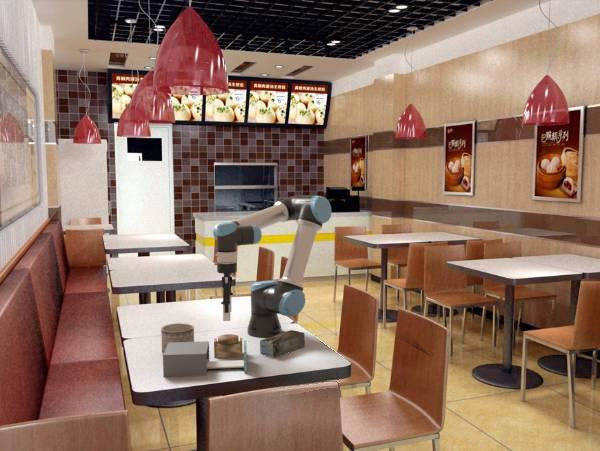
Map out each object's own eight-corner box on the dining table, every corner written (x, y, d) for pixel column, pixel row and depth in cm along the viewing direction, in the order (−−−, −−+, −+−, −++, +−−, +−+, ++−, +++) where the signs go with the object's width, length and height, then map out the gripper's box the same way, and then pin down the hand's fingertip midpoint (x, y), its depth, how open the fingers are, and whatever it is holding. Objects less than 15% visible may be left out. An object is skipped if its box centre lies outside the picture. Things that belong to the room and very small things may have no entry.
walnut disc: (238, 339, 226) (238, 333, 226) (238, 345, 218) (238, 339, 218) (218, 339, 225) (218, 334, 225) (217, 346, 217) (217, 340, 217)
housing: (209, 361, 215) (208, 341, 214) (206, 375, 200) (206, 353, 200) (169, 362, 214) (168, 342, 213) (163, 376, 199) (162, 355, 198)
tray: (246, 359, 216) (246, 340, 215) (246, 372, 202) (246, 352, 201) (207, 360, 215) (207, 341, 214) (204, 373, 201) (204, 353, 200)
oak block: (242, 352, 225) (242, 337, 224) (242, 356, 220) (242, 341, 220) (214, 353, 224) (214, 338, 223) (214, 357, 219) (213, 341, 219)
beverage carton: (258, 354, 223) (258, 338, 223) (291, 343, 238) (291, 328, 237) (273, 359, 218) (273, 342, 217) (305, 347, 232) (305, 331, 232)
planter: (159, 350, 229) (158, 325, 228) (190, 346, 234) (190, 321, 233) (165, 359, 217) (164, 333, 216) (197, 355, 222) (197, 329, 221)
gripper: (218, 257, 231) (219, 308, 233) (215, 267, 206) (215, 324, 208) (237, 257, 231) (237, 308, 233) (235, 267, 207) (236, 324, 209)
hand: (227, 316), depth 221 cm, fingers open, 13 cm apart
